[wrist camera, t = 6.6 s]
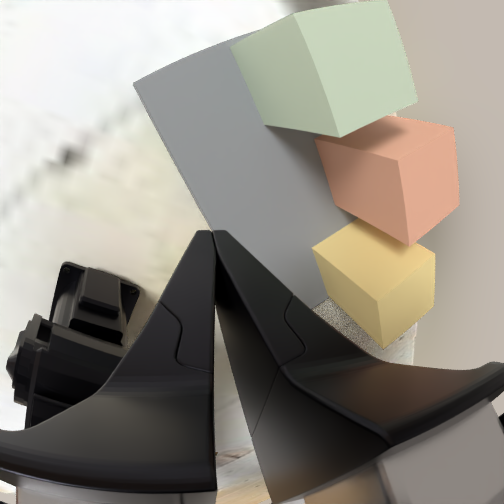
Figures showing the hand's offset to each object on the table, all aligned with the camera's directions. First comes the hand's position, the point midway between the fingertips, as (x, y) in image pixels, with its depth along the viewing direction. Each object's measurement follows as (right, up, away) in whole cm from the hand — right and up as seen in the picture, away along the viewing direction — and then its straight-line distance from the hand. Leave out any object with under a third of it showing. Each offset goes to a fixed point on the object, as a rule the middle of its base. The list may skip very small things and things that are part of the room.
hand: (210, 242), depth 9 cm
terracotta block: (+9, +7, +15) cm, 19 cm away
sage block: (+3, +12, +9) cm, 16 cm away
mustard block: (+10, -1, +19) cm, 21 cm away
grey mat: (+5, +6, +15) cm, 17 cm away
